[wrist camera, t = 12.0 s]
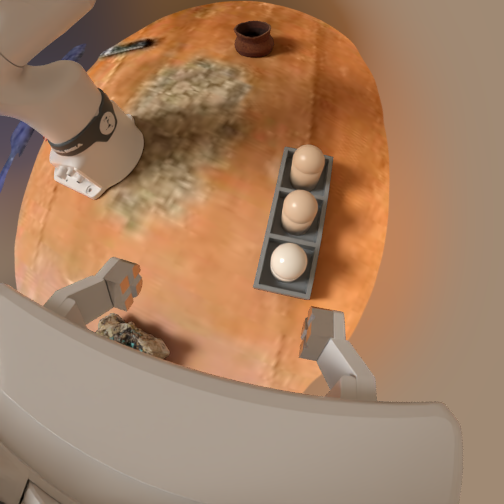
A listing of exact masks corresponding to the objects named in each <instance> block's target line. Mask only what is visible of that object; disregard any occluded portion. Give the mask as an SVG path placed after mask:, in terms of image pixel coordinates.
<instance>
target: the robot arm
mask: <svg viewBox="0 0 504 504" xmlns="http://www.w3.org/2000/svg"><path fill="white" fill-rule="evenodd" d="M95 1H96V0H0V115H3V116H9V117H14V118H17V119H19V120H21V121H23V122H25V123H27V124H28V125H30V126H31V127H32V128H34V129H35V130H37V131H38V132H39V133H41V134H42V135H43V136H44V137H43V139H44V138H46V140H45V141H47V140H48V142H49V144H50V145H51V148H52V149H51V152H50V163H51V164H52V165H53V166H54V167H55V172H54V179H55V180H56V181H57V182H58V183H60V184H62V185H64V186H66V187H68V188H70V189H72V190H75V191H77V192H79V193H81V194H83V195H85V196H87V197H89V198H91V199H94V200H95V199H97V198H98V197H100V196H101V195H102V194H103V193H104V191H105V190H106V189H108V188H109V187H111V186H113V185H115V184H117V183H118V182H120V181H121V180H122V179H124V178H125V177H126V176H127V175H128V174H129V173H130V172H131V171H132V170H133V168H134V167H135V166H136V164H137V163H138V161H139V159H140V157H141V154H142V151H143V147H144V139H143V135H142V133H141V131H140V130H139V129H138V128H137V127H136V126H135V122H134V118H133V116H132V115H131V114H125V113H124V112H123V111H122V110H121V108H120V107H119V106H118V105H117V104H116V103H115V102H114V101H112V100H109V97H108V96H107V95H106V93H104V92H103V91H102V90H101V89H100V88H97V87H96V85H95V84H94V83H93V81H92V80H91V79H90V77H89V76H88V75H87V73H86V72H85V70H84V69H83V68H82V66H81V65H80V64H78V63H77V62H74V61H69V60H60V61H56V62H53V63H50V64H47V65H43V66H29V65H27V63H28V62H29V61H30V60H31V59H32V58H33V57H35V56H36V55H37V54H38V53H39V52H40V51H42V50H43V49H44V48H45V47H46V46H48V45H49V44H50V43H51V42H53V41H54V40H55V39H56V38H58V37H59V36H61V35H62V34H63V33H65V32H66V31H67V30H68V29H69V28H70V27H71V26H73V24H75V23H76V22H77V21H78V20H79V19H80V18H82V17H83V16H84V15H85V14H86V13H87V12H88V11H90V10H91V9H92V8H93V6H94V4H95ZM91 190H92V191H91ZM90 191H91V192H90ZM140 271H141V270H140V265H138V264H135V263H132V262H129V261H126V260H123V259H119V258H116V257H112V258H110V259H109V260H108V261H107V263H106V264H105V265H104V266H103V267H102V268H101V269H100V270H99V272H98V273H97V274H96V275H95V276H90V277H87V278H85V279H83V280H80V281H78V282H76V283H73V284H71V285H69V286H66V287H64V288H62V289H59V290H57V291H55V293H54V294H53V295H52V296H51V297H50V299H49V300H48V301H47V302H46V303H45V305H44V306H42V305H40V304H38V303H37V302H35V301H33V300H31V299H30V298H28V297H26V296H25V295H23V294H21V293H20V292H18V291H17V290H15V289H13V288H12V287H10V286H9V285H7V284H5V283H1V284H0V504H459V500H460V493H461V485H462V473H463V442H462V431H461V426H460V423H459V421H458V420H457V418H456V417H455V416H454V414H453V413H452V412H451V411H450V409H449V408H448V407H447V406H446V405H445V404H444V403H442V402H383V401H377V397H376V381H375V377H374V376H373V374H372V373H371V371H370V370H369V368H368V367H367V366H366V364H365V363H364V362H363V360H362V359H361V357H360V356H359V355H358V353H357V352H356V351H355V349H354V348H353V346H352V345H351V343H350V342H349V341H346V337H345V321H344V313H343V312H341V311H335V310H330V309H324V308H319V307H314V306H311V307H310V309H309V311H308V317H307V318H305V321H304V324H303V327H302V332H301V339H302V343H301V345H300V352H299V358H304V359H309V360H314V361H317V364H318V366H319V368H320V370H321V372H322V374H323V376H324V378H325V380H326V382H327V384H328V386H329V388H330V391H329V393H328V394H327V395H326V396H325V397H323V396H315V395H308V394H302V393H295V392H289V391H283V390H278V389H273V388H268V387H263V386H258V385H253V384H249V383H244V382H240V381H236V380H231V379H227V378H224V377H220V376H216V375H212V374H209V373H205V372H201V371H198V370H195V369H191V368H188V367H185V366H182V365H178V364H175V363H172V362H169V361H166V360H163V359H160V358H158V357H155V356H152V355H149V354H146V353H144V352H141V351H138V350H136V349H133V348H131V347H128V346H126V345H123V344H121V343H118V342H116V341H113V340H111V339H109V338H106V337H104V336H102V335H100V334H97V333H95V332H93V331H91V330H89V329H88V328H87V326H86V324H88V323H89V322H91V321H93V320H94V319H96V318H97V317H99V316H101V315H102V314H104V313H105V312H107V311H109V310H110V309H112V308H113V307H115V308H118V309H121V310H124V311H128V310H129V308H130V307H131V305H132V304H133V298H134V297H136V296H138V295H139V293H140V291H141V288H142V277H141V276H140V275H139V272H140Z"/></svg>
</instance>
